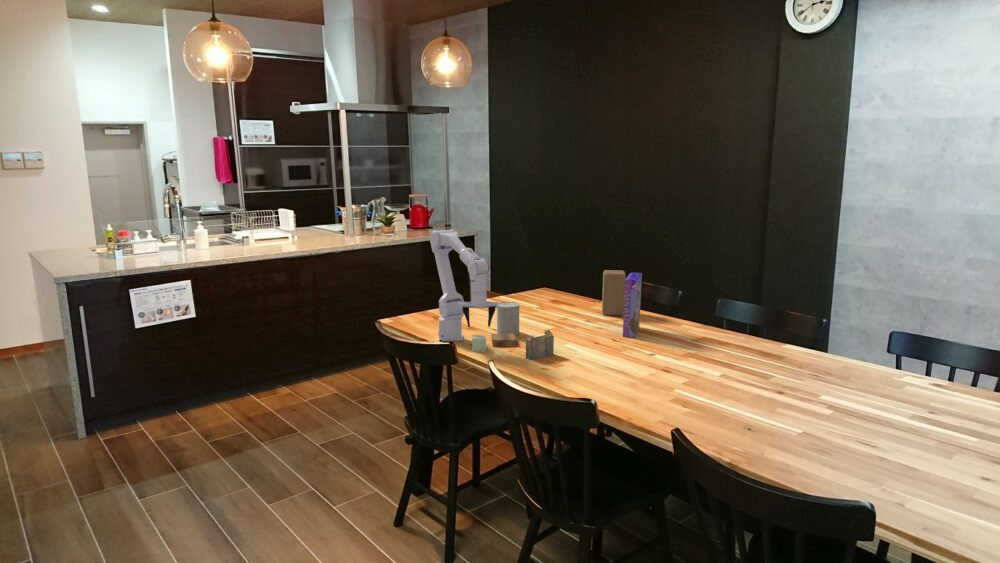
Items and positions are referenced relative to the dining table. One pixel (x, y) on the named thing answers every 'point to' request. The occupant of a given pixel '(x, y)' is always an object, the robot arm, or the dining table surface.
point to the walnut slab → (504, 339)
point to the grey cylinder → (508, 318)
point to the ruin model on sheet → (540, 346)
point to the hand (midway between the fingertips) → (479, 326)
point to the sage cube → (479, 342)
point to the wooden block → (613, 292)
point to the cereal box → (632, 304)
